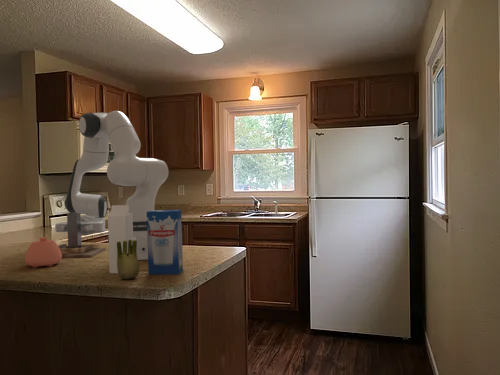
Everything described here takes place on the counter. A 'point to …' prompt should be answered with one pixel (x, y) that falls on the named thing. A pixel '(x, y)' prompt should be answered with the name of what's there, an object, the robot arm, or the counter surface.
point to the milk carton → (164, 242)
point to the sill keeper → (79, 251)
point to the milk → (118, 232)
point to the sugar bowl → (43, 253)
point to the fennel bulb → (127, 260)
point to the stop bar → (74, 230)
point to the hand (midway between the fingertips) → (73, 228)
